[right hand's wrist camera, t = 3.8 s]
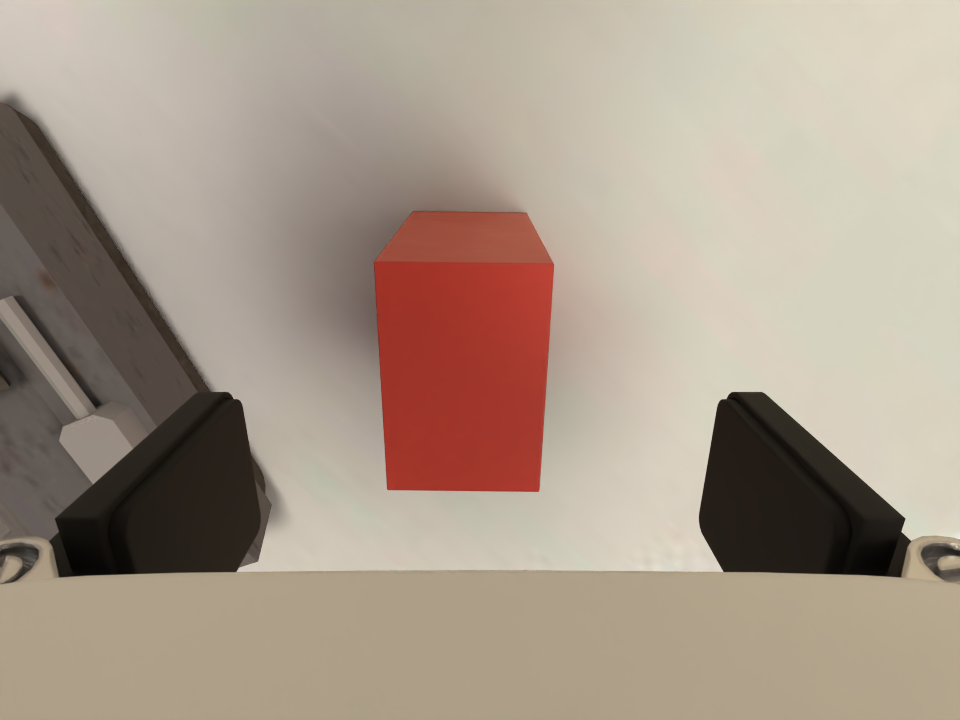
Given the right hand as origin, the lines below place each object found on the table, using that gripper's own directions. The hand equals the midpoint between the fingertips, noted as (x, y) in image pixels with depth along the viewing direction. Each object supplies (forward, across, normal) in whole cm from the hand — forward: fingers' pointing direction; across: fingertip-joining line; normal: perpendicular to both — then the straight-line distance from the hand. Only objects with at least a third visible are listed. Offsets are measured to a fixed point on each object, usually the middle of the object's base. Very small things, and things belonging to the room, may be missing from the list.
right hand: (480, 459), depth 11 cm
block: (+20, +1, +2) cm, 20 cm away
